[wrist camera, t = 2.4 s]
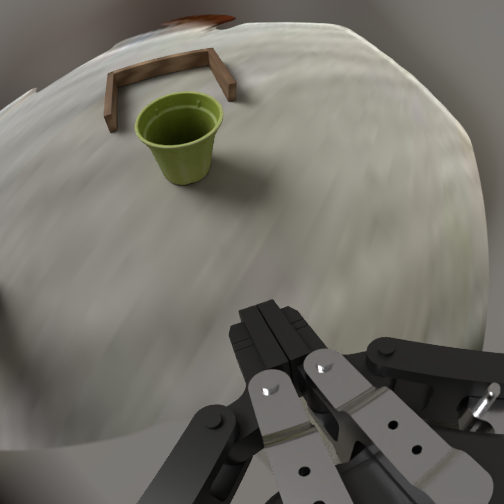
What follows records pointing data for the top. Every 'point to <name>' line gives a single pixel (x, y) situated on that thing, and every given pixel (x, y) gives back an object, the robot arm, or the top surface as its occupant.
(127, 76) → the wooden u bracket
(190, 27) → the top surface
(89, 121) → the top surface
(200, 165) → the plant pot
